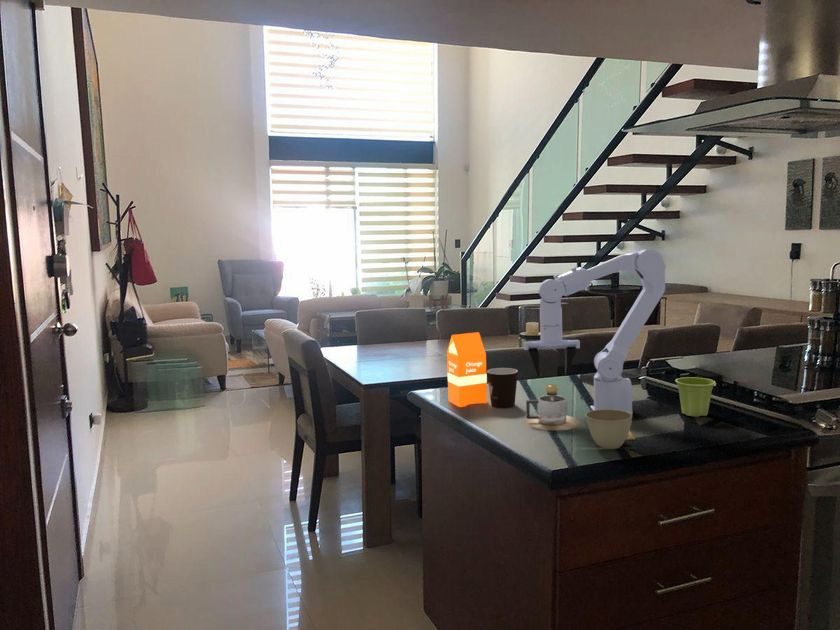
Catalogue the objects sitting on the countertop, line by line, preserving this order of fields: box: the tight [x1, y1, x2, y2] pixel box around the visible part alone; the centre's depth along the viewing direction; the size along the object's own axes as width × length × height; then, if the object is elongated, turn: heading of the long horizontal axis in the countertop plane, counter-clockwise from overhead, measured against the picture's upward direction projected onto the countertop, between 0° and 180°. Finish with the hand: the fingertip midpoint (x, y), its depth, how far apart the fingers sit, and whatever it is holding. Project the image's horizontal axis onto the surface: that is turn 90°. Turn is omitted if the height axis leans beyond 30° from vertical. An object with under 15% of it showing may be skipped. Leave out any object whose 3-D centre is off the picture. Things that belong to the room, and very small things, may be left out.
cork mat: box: [523, 414, 582, 431], centre depth 165 cm, size 14×14×1 cm
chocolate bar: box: [626, 430, 636, 440], centre depth 155 cm, size 3×12×2 cm, turn 174°
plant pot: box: [674, 376, 716, 418], centre depth 168 cm, size 9×9×9 cm
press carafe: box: [525, 394, 568, 426], centre depth 165 cm, size 10×7×6 cm
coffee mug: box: [486, 367, 519, 409], centre depth 184 cm, size 12×9×10 cm
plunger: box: [545, 383, 559, 402], centre depth 164 cm, size 5×5×6 cm
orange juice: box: [446, 331, 488, 408], centre depth 188 cm, size 8×9×20 cm
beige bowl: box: [585, 409, 633, 450], centre depth 146 cm, size 10×10×7 cm
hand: (552, 375), depth 175 cm, fingers open, 7 cm apart
